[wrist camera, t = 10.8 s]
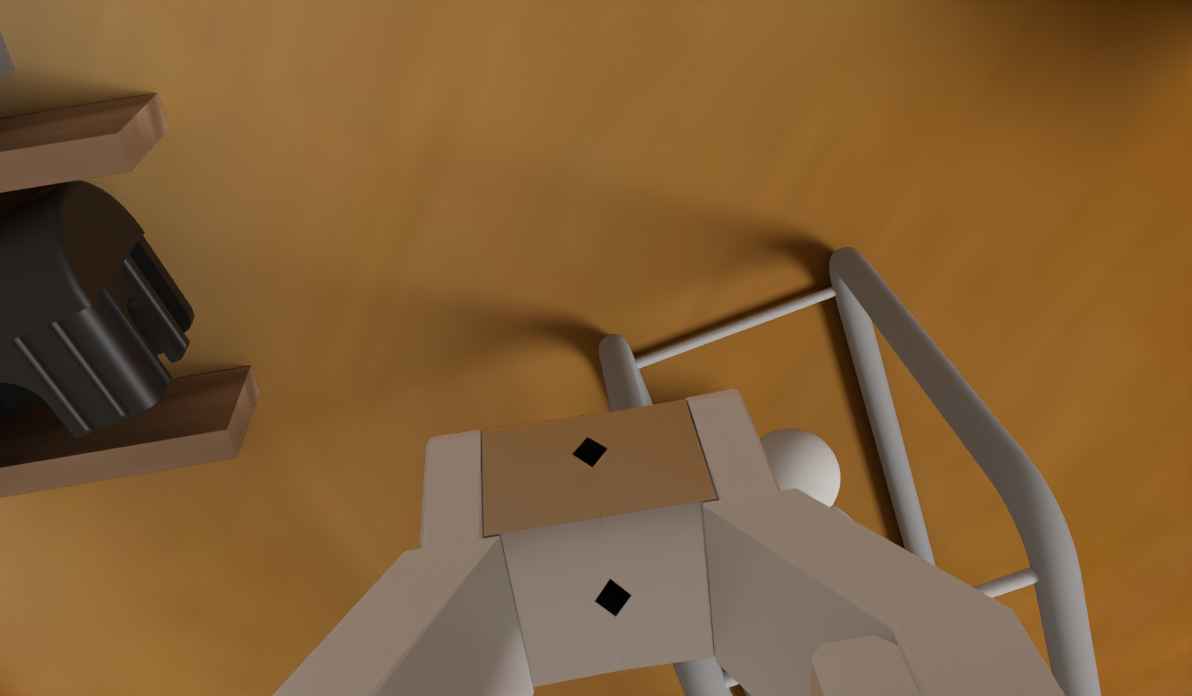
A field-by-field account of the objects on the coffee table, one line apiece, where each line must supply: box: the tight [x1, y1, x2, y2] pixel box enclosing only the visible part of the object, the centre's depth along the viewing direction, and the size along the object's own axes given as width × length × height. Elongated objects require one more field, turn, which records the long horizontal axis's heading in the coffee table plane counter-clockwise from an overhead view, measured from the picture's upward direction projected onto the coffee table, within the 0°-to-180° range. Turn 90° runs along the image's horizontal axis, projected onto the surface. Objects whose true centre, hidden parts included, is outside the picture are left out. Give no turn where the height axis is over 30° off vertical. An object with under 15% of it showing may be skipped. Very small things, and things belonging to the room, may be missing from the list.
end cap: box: [0, 180, 194, 468], centre depth 35 cm, size 10×7×7 cm
